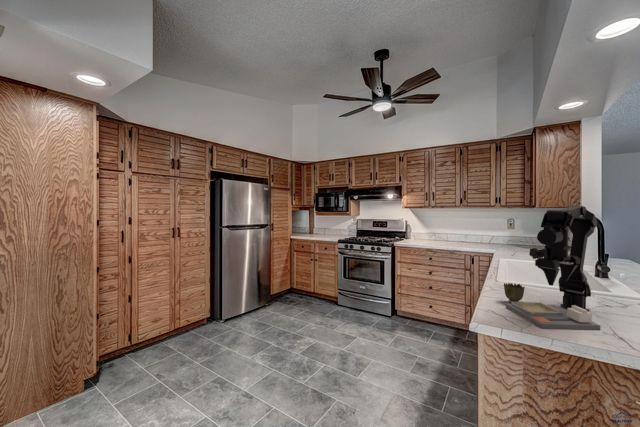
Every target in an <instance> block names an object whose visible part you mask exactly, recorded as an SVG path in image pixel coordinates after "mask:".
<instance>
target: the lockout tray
mask: <svg viewBox="0 0 640 427" xmlns="http://www.w3.org/2000/svg"><path fill="white" fill-rule="evenodd" d="M510 304H511V305H513V306H515V307H517V308H519V309H520V310H522V311H524V312H526V313H528V314H530V315H532V316H564V313H563V312H561V311H559V310H557V309H555V308H552V307H550V306H548V305H549V304H546V303H543V302H542V301H519V302H512V303H510Z"/></svg>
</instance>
